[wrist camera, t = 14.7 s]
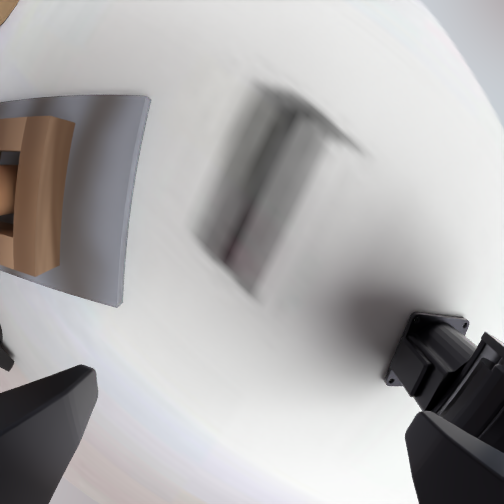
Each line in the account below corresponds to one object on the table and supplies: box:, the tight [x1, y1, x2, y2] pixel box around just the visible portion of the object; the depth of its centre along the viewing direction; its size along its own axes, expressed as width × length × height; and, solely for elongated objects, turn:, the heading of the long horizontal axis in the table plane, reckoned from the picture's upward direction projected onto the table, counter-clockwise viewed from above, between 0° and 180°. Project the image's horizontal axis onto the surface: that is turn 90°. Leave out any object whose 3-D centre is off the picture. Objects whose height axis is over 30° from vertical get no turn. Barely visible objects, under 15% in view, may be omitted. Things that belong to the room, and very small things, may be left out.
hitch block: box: [0, 95, 151, 308], centre depth 16 cm, size 20×14×4 cm
